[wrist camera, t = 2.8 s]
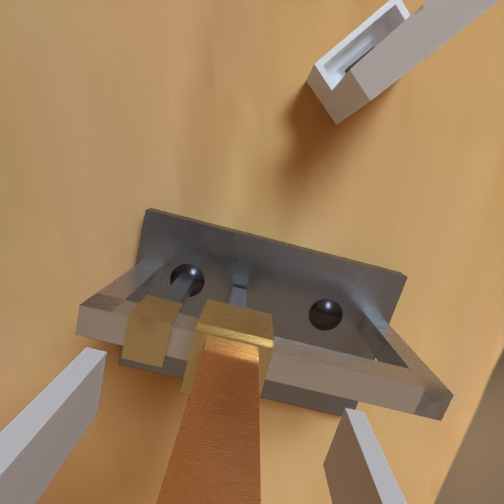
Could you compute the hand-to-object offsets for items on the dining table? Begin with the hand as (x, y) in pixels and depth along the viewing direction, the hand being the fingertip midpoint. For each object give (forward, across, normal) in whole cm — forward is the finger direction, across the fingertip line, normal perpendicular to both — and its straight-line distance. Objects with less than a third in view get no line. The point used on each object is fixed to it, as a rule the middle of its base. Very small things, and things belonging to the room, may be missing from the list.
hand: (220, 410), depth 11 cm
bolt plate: (+13, +2, -2) cm, 14 cm away
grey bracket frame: (+12, +2, 0) cm, 12 cm away
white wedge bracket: (+14, +4, +17) cm, 22 cm away
